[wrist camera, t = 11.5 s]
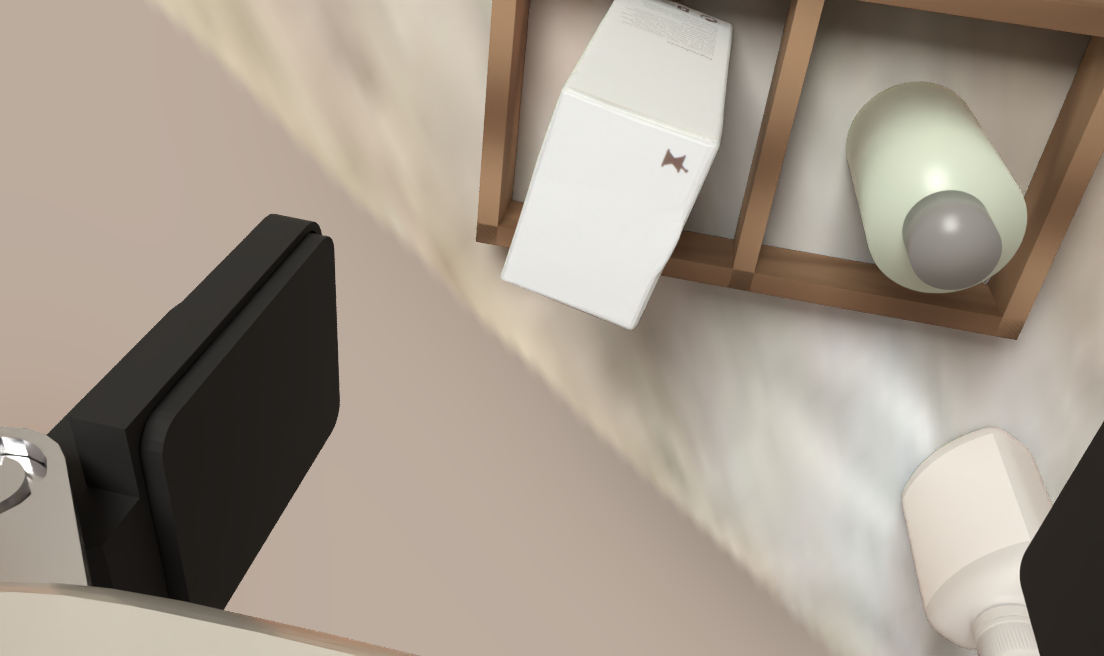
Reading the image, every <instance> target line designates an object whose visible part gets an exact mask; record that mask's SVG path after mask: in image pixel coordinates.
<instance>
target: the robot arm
mask: <svg viewBox="0 0 1104 656" xmlns="http://www.w3.org/2000/svg"><path fill="white" fill-rule="evenodd" d="M334 260H335V258H334V244H333V241H332V239H331V238H330V237H328V236H323V235H322V233H321V229H320V227H319V225H318V224H317V223H316V222H312V221H307V220H302V219H297V218H292V217H287V216H282V215H277V214H270V215H268V216H267V217H265V218H264V219H263V220H262V221H261V222H260V223H259V224H258V226H256V227H255V228H254V229H253V230H252V231H251V233H250V234H249V235H248V236H247V237H246V238H245V239H244V240H243V241H242V242H241V243H240V244H239V245H238V246H237V247H236V248H235V249H234V250H233V251H232V252H231V253H230V254H229V255H228V256H227V257H226V258H225V259H224V260H223V261H222V262H221V263H220V264H219V265H218V266H217V267H216V268H215V269H214V270H213V271H212V272H211V273H210V274H209V275H208V276H207V277H206V278H205V279H204V280H203V281H202V282H201V283H200V284H199V285H198V286H197V287H196V288H195V289H194V290H193V291H192V292H191V293H190V294H189V295H188V296H187V297H186V298H185V299H184V301H182V302H181V303H179V304H178V305H177V306H175V307H174V308H173V309H171V310H170V311H169V312H168V313H167V314H166V315H165V316H164V317H163V318H162V319H161V320H160V321H159V322H158V323H157V324H156V325H155V326H154V327H153V328H152V329H151V330H150V331H149V332H148V333H147V334H146V335H145V336H144V337H143V338H142V339H141V340H140V341H139V342H138V343H137V345H135V346H134V348H132V349H131V350H130V351H129V352H128V353H127V354H126V356H124V357H123V358H122V360H121V361H120V362H119V363H118V364H117V365H116V366H115V367H114V368H113V369H112V370H111V371H110V372H109V373H108V374H107V375H106V376H105V377H104V378H103V379H102V380H101V381H100V382H99V383H98V384H97V385H96V386H95V387H94V388H93V389H92V390H91V391H90V392H89V393H88V394H87V395H86V396H85V397H84V398H83V399H82V400H81V401H80V402H79V403H78V404H77V405H76V406H75V407H74V408H73V409H72V410H71V411H70V412H69V413H68V414H67V415H66V416H65V417H64V418H63V419H62V420H61V421H60V422H59V423H58V424H57V425H56V426H55V427H54V428H53V429H52V430H51V431H50V432H49V433H48V434H47V435H46V434H43V433H40V432H36V431H33V430H30V429H27V428H14V427H0V656H419V655H414V654H410V653H406V652H402V651H398V650H394V649H389V648H385V647H381V646H377V645H373V644H368V643H365V642H361V641H356V640H352V639H348V638H343V637H339V636H335V635H331V634H327V633H323V632H319V631H314V630H310V629H305V628H301V627H296V626H291V625H287V624H283V623H279V622H274V621H269V620H265V619H261V618H255V617H252V616H247V615H243V614H238V613H234V612H229V611H224V608H225V607H226V605H227V603H228V602H229V600H230V598H231V597H232V595H233V593H234V592H235V590H236V589H237V587H238V585H239V583H240V582H241V580H242V579H243V577H244V575H245V574H246V572H247V570H248V569H249V567H250V565H251V564H252V562H253V561H254V559H255V557H256V556H257V554H258V552H259V551H260V549H261V548H262V546H263V544H264V543H265V541H266V539H267V537H268V536H269V534H270V533H271V531H272V529H273V528H274V526H275V524H276V523H277V521H278V520H279V518H280V516H281V514H282V513H283V511H284V510H285V508H286V506H287V505H288V503H289V501H290V499H291V498H292V496H293V495H294V493H295V492H296V490H297V488H298V487H299V485H300V483H301V482H302V480H303V478H304V476H305V475H306V473H307V472H308V470H309V469H310V467H311V465H312V463H313V462H314V460H315V459H316V457H317V455H318V454H319V452H320V450H321V449H322V447H323V445H324V444H325V442H326V441H327V439H328V437H329V436H330V434H331V432H332V430H333V428H334V426H335V424H336V421H337V417H338V413H339V407H340V406H339V405H340V404H339V403H340V395H339V367H338V340H337V312H336V285H335V261H334ZM1020 585H1021V589H1022V592H1023V596H1024V600H1025V603H1026V607H1027V611H1028V614H1029V618H1030V622H1031V625H1032V629H1033V632H1034V636H1035V640H1036V643H1037V647H1038V651H1039V654H1040V656H1104V422H1103V424H1102V425H1101V427H1100V428H1099V430H1098V432H1097V433H1096V435H1095V437H1094V438H1093V440H1092V442H1091V443H1090V445H1089V447H1088V448H1087V450H1086V452H1085V453H1084V455H1083V457H1082V458H1081V460H1080V462H1079V463H1078V465H1077V467H1076V468H1075V470H1074V471H1073V473H1072V475H1071V476H1070V478H1069V480H1068V481H1067V483H1066V485H1065V486H1064V488H1063V490H1062V491H1061V493H1060V495H1059V496H1058V498H1057V500H1056V501H1055V503H1054V505H1053V506H1052V508H1051V510H1050V511H1049V513H1048V514H1047V516H1046V518H1045V519H1044V521H1043V523H1042V524H1041V526H1040V528H1039V529H1038V531H1037V533H1036V534H1035V536H1034V538H1033V539H1032V541H1031V543H1030V544H1029V546H1028V548H1027V549H1026V551H1025V553H1024V555H1023V557H1022V561H1021V565H1020Z"/></svg>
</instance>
